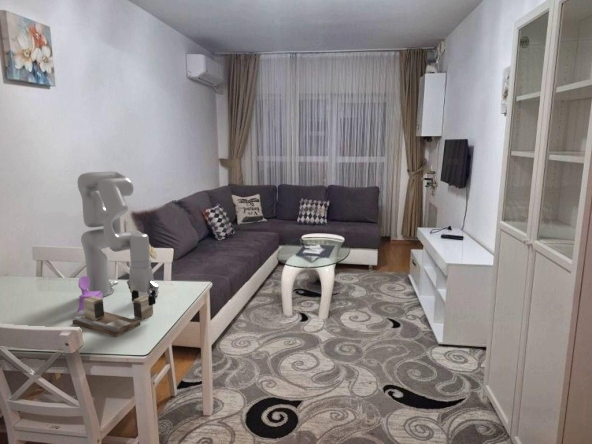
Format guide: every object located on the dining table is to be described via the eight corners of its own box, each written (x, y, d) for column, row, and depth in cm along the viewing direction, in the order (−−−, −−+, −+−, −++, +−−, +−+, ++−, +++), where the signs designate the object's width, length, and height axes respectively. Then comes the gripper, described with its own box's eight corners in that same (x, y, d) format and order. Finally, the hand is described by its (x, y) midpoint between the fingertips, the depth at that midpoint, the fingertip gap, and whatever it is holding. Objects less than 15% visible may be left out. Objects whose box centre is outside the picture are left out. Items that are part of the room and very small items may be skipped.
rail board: (98, 313, 177) (97, 292, 175) (140, 324, 166) (138, 302, 164) (72, 323, 167) (70, 301, 165) (115, 336, 155) (113, 313, 154)
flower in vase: (148, 302, 190) (145, 249, 185) (128, 298, 194) (125, 247, 189) (166, 292, 202) (163, 243, 198) (147, 289, 206) (143, 241, 201)
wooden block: (153, 314, 176) (152, 296, 175) (141, 320, 170) (139, 302, 169) (145, 312, 178) (144, 295, 177) (133, 318, 172) (132, 300, 171)
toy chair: (96, 313, 177) (93, 280, 174) (75, 313, 177) (72, 280, 174) (105, 306, 185) (102, 274, 182) (86, 305, 185) (83, 274, 182)
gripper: (118, 263, 171) (122, 302, 174) (148, 268, 163) (151, 309, 166) (133, 259, 177) (136, 296, 180) (163, 263, 169) (165, 303, 172)
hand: (143, 302), depth 173 cm, fingers open, 9 cm apart
